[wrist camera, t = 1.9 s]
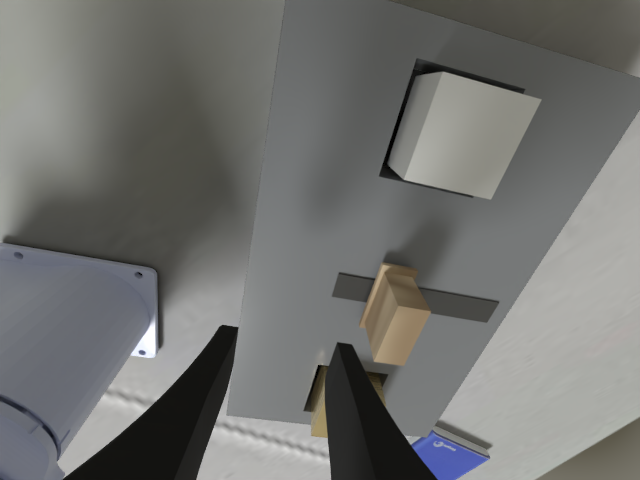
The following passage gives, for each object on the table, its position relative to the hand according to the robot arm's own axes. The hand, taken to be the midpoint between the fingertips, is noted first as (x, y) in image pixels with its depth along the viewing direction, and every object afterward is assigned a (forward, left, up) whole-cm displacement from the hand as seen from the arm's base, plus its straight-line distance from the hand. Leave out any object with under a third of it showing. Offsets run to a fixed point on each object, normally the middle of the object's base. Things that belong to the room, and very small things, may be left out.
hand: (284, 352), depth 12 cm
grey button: (+6, +9, -6) cm, 12 cm away
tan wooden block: (+5, 0, -5) cm, 7 cm away
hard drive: (+17, -23, -9) cm, 30 cm away
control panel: (+5, 0, -8) cm, 10 cm away
